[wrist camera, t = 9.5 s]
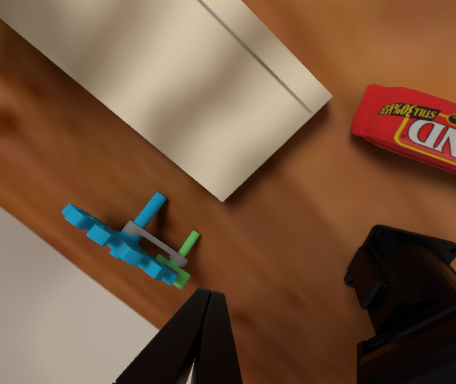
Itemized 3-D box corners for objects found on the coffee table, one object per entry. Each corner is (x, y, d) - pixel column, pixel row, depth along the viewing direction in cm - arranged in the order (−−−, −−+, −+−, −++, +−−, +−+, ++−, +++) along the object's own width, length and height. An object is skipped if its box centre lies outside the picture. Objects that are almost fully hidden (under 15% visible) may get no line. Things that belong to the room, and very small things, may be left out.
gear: (62, 214, 23) (42, 225, 14) (107, 163, 25) (115, 145, 16) (162, 277, 27) (195, 317, 18) (195, 229, 29) (240, 244, 20)
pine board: (326, 91, 17) (332, 96, 15) (226, 190, 21) (222, 202, 19) (-6, -256, 12) (-53, -308, 11) (-45, -39, 17) (-83, -50, 15)
